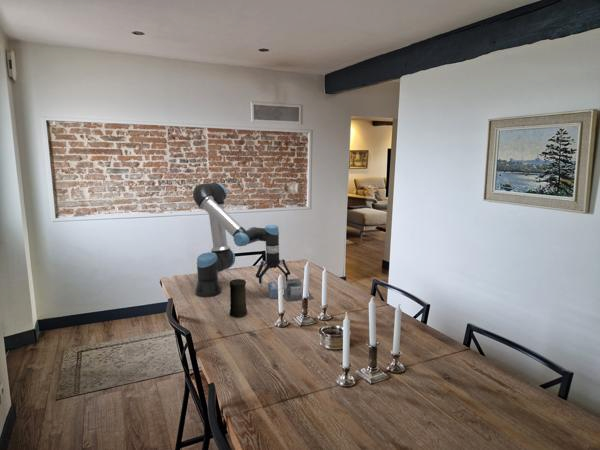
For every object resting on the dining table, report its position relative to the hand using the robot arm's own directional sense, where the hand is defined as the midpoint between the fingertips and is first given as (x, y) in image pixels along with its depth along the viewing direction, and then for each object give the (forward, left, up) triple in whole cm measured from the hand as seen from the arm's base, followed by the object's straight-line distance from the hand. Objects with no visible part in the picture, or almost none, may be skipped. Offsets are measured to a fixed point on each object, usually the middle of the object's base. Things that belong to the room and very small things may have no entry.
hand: (273, 287), depth 229 cm
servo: (0, 0, -6) cm, 6 cm away
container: (+20, -23, -6) cm, 31 cm away
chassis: (0, +14, -6) cm, 15 cm away
